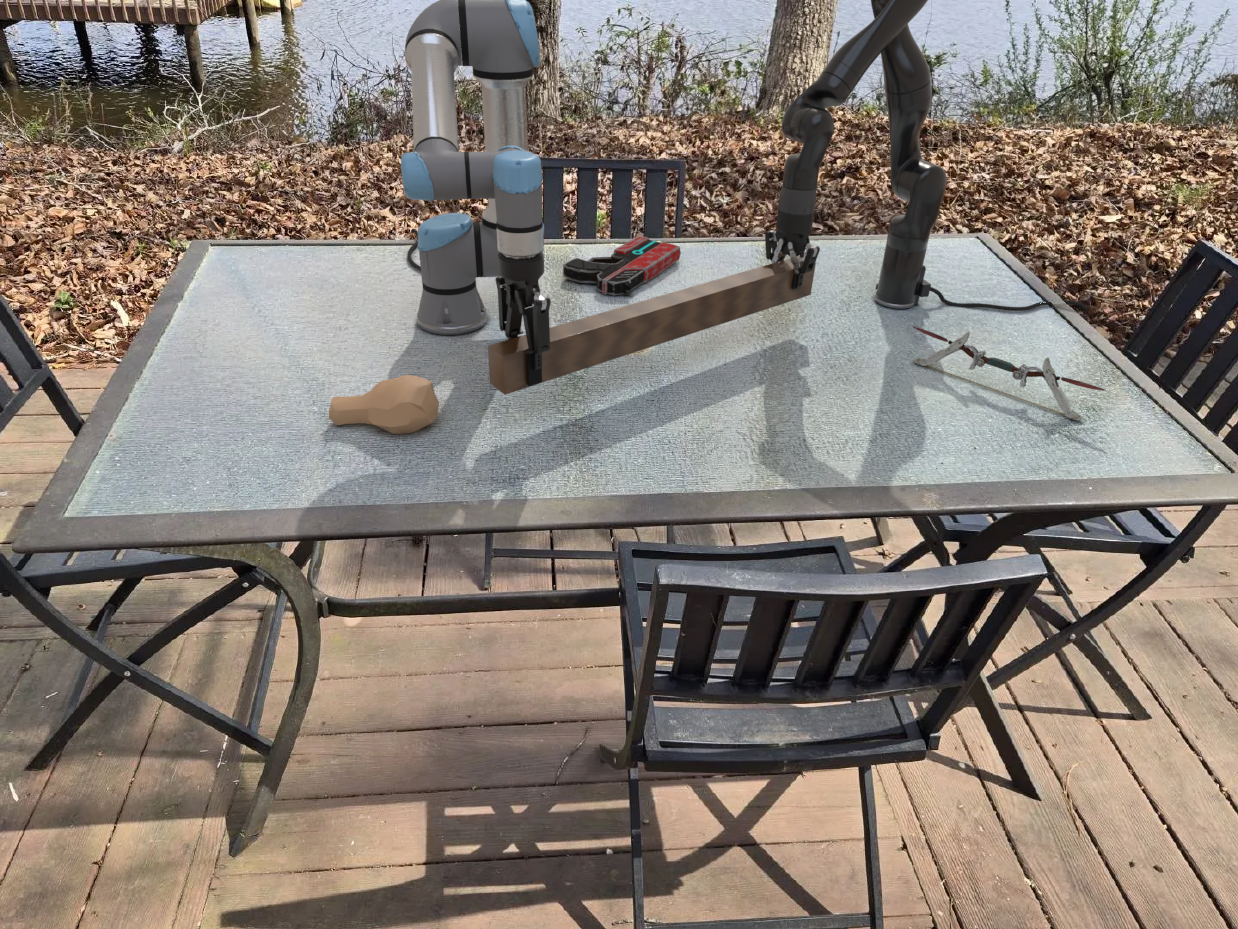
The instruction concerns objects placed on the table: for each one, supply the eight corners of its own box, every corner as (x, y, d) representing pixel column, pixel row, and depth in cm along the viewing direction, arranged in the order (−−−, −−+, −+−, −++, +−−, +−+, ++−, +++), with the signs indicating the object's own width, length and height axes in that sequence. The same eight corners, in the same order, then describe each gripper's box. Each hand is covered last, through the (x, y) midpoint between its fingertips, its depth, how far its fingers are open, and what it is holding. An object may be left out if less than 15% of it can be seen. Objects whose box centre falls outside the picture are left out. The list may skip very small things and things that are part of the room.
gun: (556, 265, 215) (624, 284, 207) (621, 228, 237) (685, 244, 229) (556, 282, 217) (623, 301, 209) (620, 244, 239) (683, 260, 231)
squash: (439, 440, 156) (426, 401, 150) (330, 449, 157) (313, 410, 151) (448, 401, 164) (436, 363, 157) (344, 410, 165) (328, 372, 159)
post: (504, 394, 152) (503, 356, 148) (489, 383, 156) (487, 345, 152) (810, 294, 195) (815, 262, 190) (793, 287, 198) (798, 255, 194)
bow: (1094, 423, 166) (1111, 376, 160) (1090, 426, 165) (1108, 379, 159) (907, 357, 187) (917, 313, 182) (903, 359, 186) (913, 316, 181)
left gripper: (571, 263, 140) (572, 391, 153) (510, 231, 152) (516, 353, 165) (531, 273, 136) (536, 403, 149) (472, 240, 148) (481, 363, 161)
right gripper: (835, 213, 179) (822, 291, 189) (783, 195, 189) (774, 271, 198) (810, 220, 175) (798, 299, 185) (759, 201, 185) (750, 278, 194)
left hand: (525, 376), depth 157 cm, fingers closed on post, 5 cm apart
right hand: (786, 284), depth 191 cm, fingers closed on post, 5 cm apart
